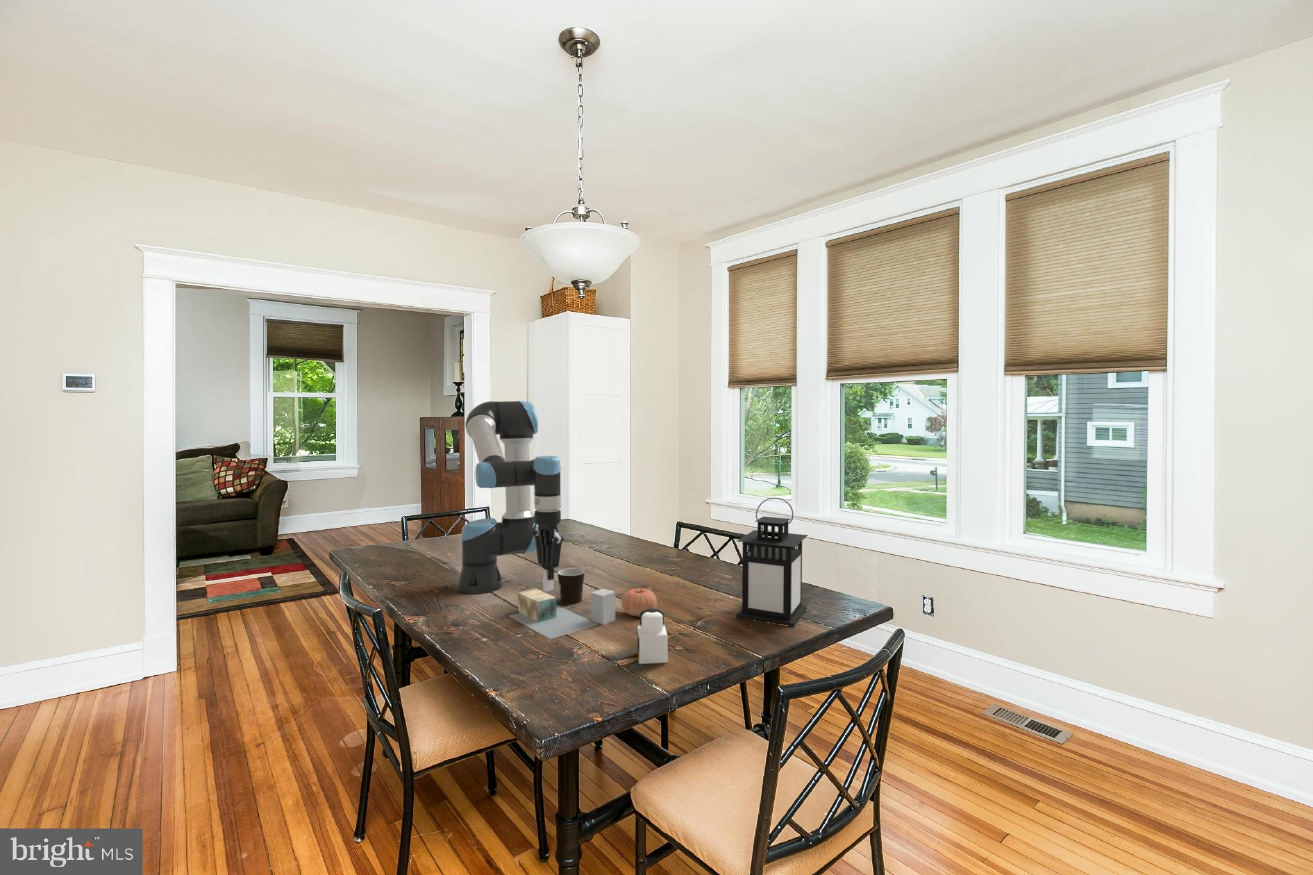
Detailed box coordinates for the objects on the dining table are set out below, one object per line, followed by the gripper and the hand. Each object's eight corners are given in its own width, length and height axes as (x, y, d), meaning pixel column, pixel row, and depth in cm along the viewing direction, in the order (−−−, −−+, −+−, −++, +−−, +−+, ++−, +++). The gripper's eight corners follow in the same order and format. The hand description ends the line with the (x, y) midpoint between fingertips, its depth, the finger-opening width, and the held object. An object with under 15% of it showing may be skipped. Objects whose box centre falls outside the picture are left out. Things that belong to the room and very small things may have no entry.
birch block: (538, 622, 176) (518, 611, 185) (556, 617, 180) (535, 607, 189) (538, 602, 176) (518, 592, 185) (556, 597, 180) (535, 588, 189)
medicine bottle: (637, 652, 156) (637, 606, 156) (664, 651, 157) (664, 605, 156) (638, 664, 149) (638, 616, 149) (667, 663, 150) (667, 615, 149)
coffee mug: (579, 607, 191) (579, 576, 190) (553, 606, 192) (553, 574, 192) (591, 596, 202) (590, 566, 201) (566, 594, 204) (566, 565, 203)
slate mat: (508, 617, 182) (508, 615, 182) (554, 605, 193) (554, 604, 193) (550, 641, 164) (550, 638, 164) (598, 626, 175) (598, 624, 175)
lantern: (736, 618, 181) (736, 501, 179) (753, 601, 197) (754, 493, 195) (793, 627, 174) (795, 505, 172) (807, 609, 189) (808, 497, 187)
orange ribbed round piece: (640, 606, 192) (640, 581, 192) (664, 614, 184) (664, 588, 184) (614, 614, 184) (613, 588, 184) (638, 623, 177) (638, 596, 176)
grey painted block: (591, 622, 178) (590, 592, 177) (602, 618, 182) (602, 588, 181) (603, 626, 175) (603, 595, 174) (615, 621, 178) (615, 591, 178)
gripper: (524, 508, 178) (525, 587, 180) (548, 514, 169) (549, 598, 170) (547, 505, 183) (547, 582, 185) (571, 511, 174) (571, 592, 175)
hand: (548, 589), depth 178 cm, fingers closed
